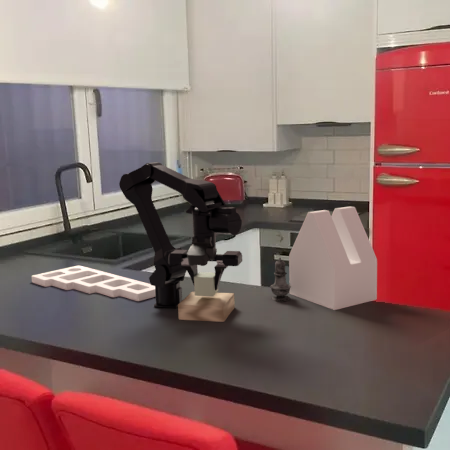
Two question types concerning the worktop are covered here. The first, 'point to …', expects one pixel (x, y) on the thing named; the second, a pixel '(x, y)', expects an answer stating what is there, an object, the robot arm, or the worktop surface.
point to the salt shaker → (280, 283)
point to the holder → (95, 283)
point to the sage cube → (204, 284)
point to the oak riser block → (206, 307)
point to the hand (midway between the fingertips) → (206, 289)
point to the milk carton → (333, 260)
